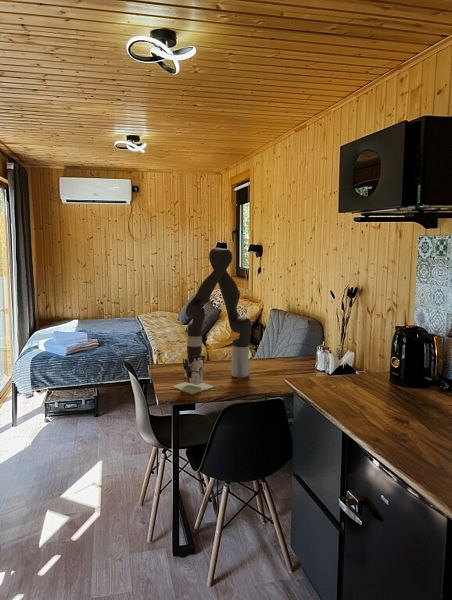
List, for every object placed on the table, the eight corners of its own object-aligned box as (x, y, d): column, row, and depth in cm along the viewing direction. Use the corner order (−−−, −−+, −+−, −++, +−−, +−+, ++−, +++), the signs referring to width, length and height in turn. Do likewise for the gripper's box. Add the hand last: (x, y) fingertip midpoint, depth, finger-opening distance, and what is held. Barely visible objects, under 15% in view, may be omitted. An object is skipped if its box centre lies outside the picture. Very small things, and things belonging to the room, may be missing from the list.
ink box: (183, 382, 239) (184, 359, 237) (189, 379, 243) (189, 357, 241) (197, 385, 234) (198, 362, 233) (203, 382, 238) (203, 360, 237)
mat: (194, 380, 250) (194, 379, 250) (214, 387, 240) (214, 386, 240) (171, 387, 238) (171, 386, 238) (192, 394, 228) (192, 393, 228)
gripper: (189, 347, 228) (188, 381, 230) (209, 343, 239) (208, 375, 241) (178, 345, 233) (178, 378, 235) (199, 341, 244) (198, 372, 246)
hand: (193, 376), depth 238 cm, fingers closed on ink box, 5 cm apart
